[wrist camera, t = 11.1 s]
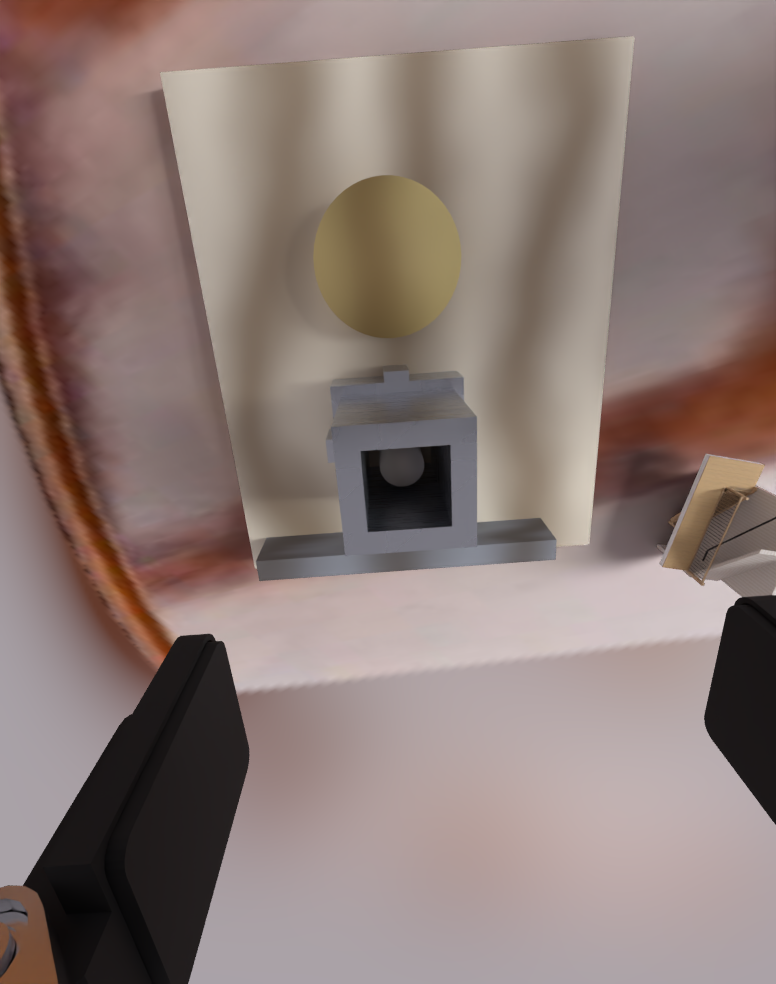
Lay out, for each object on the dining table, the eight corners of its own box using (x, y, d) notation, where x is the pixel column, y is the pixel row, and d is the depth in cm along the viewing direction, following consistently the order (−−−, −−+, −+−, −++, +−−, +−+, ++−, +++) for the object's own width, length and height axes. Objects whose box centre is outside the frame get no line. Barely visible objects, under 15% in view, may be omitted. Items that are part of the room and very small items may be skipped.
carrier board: (618, 52, 22) (708, -39, 16) (579, 533, 31) (628, 590, 25) (173, 86, 22) (98, 8, 16) (260, 556, 31) (232, 619, 25)
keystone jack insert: (466, 360, 26) (504, 387, 18) (467, 493, 28) (501, 566, 21) (322, 370, 26) (300, 402, 18) (337, 502, 28) (323, 578, 21)
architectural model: (630, 540, 32) (701, 608, 25) (670, 437, 29) (761, 480, 23) (680, 548, 32) (764, 617, 25) (724, 446, 30) (830, 492, 23)
